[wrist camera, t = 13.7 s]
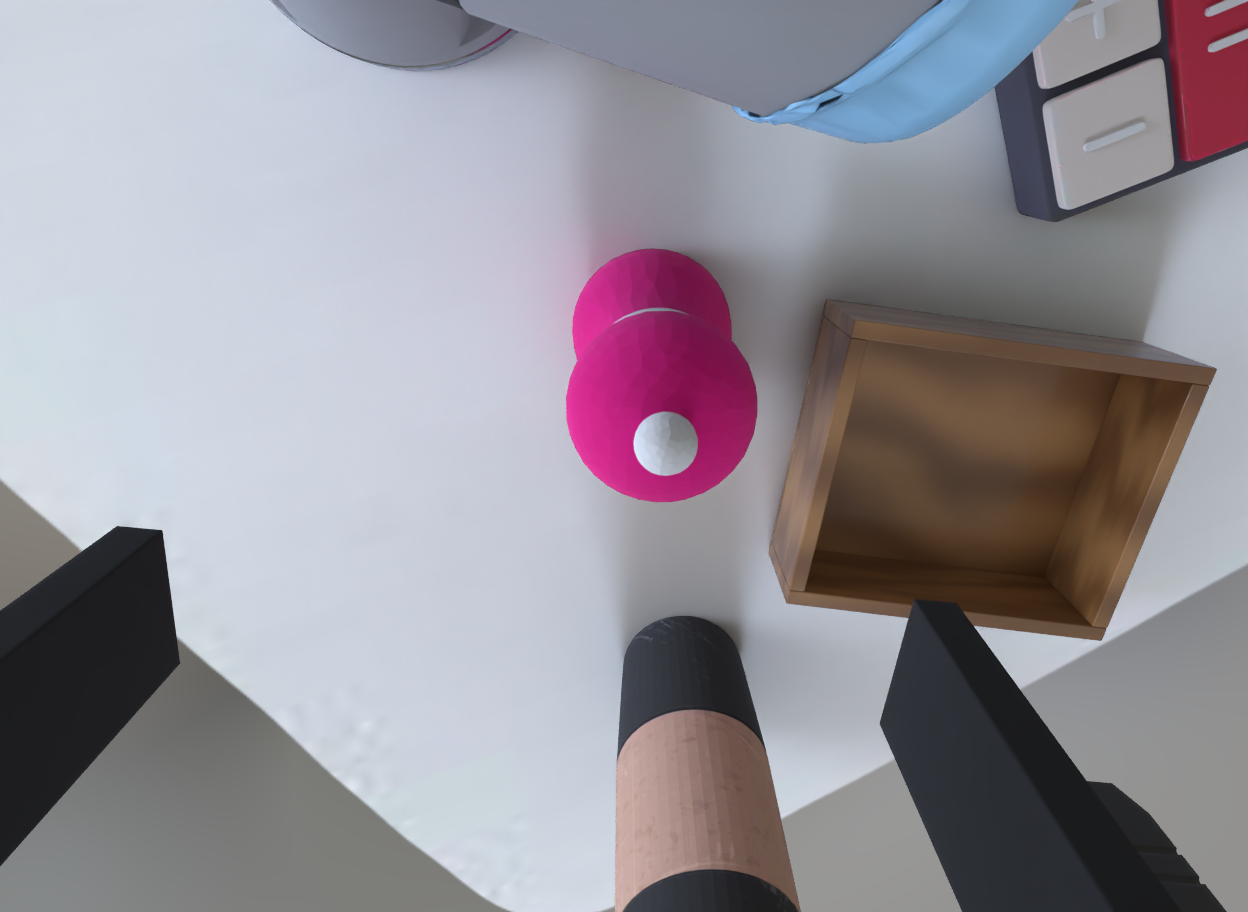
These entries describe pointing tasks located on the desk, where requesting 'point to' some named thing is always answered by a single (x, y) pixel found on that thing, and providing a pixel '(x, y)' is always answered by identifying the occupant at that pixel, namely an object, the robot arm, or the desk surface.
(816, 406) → the wooden box
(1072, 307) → the desk surface
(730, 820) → the travel mug
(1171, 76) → the black red grey box
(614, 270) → the pepper mill
